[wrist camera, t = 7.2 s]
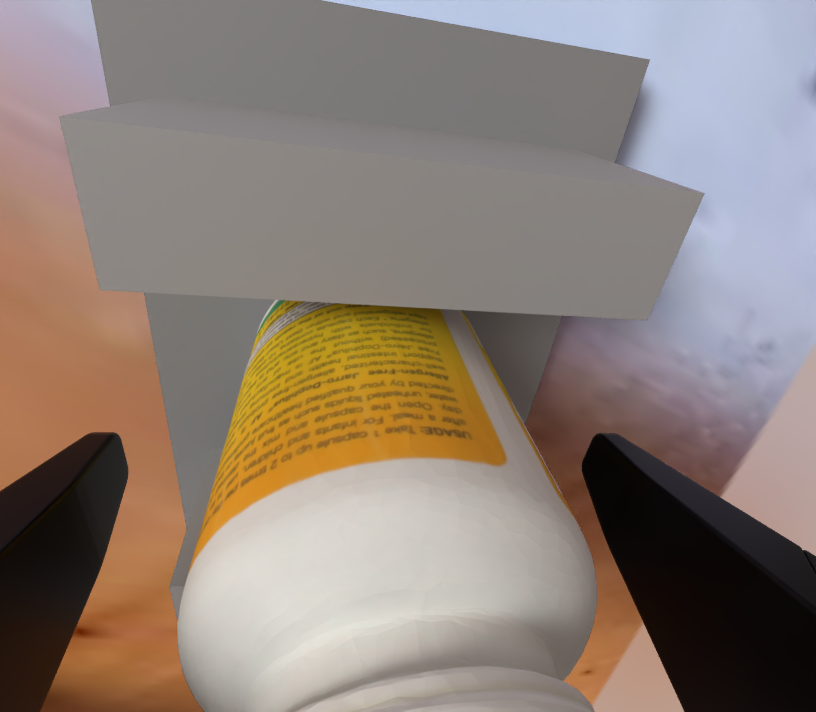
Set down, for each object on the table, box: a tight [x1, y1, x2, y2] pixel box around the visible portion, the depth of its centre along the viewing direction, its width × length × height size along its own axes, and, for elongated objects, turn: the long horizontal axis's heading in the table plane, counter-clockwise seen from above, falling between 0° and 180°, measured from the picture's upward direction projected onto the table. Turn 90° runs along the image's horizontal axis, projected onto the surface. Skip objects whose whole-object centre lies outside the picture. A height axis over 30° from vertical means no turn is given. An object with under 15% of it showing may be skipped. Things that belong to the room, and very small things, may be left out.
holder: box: [59, 0, 705, 621], centre depth 10 cm, size 14×10×5 cm
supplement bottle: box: [177, 300, 597, 712], centre depth 8 cm, size 5×5×10 cm
